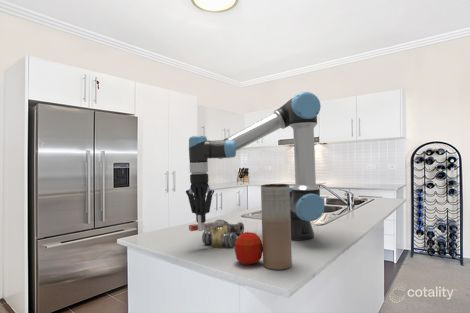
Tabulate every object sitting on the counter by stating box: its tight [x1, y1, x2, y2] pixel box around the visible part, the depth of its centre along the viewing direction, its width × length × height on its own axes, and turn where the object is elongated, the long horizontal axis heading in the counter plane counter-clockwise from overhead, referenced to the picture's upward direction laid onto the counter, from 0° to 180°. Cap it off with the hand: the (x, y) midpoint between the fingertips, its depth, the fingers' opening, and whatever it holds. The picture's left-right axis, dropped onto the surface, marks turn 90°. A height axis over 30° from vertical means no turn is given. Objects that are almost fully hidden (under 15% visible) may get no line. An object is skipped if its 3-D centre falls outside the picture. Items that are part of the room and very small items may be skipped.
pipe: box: [203, 219, 245, 236], centre depth 145 cm, size 16×9×15 cm
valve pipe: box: [201, 226, 238, 249], centre depth 128 cm, size 14×7×8 cm, turn 62°
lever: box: [188, 220, 224, 232], centre depth 125 cm, size 15×4×2 cm, turn 119°
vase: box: [260, 183, 293, 271], centre depth 102 cm, size 10×10×28 cm
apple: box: [234, 231, 263, 266], centre depth 105 cm, size 10×10×12 cm
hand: (201, 230), depth 121 cm, fingers closed
